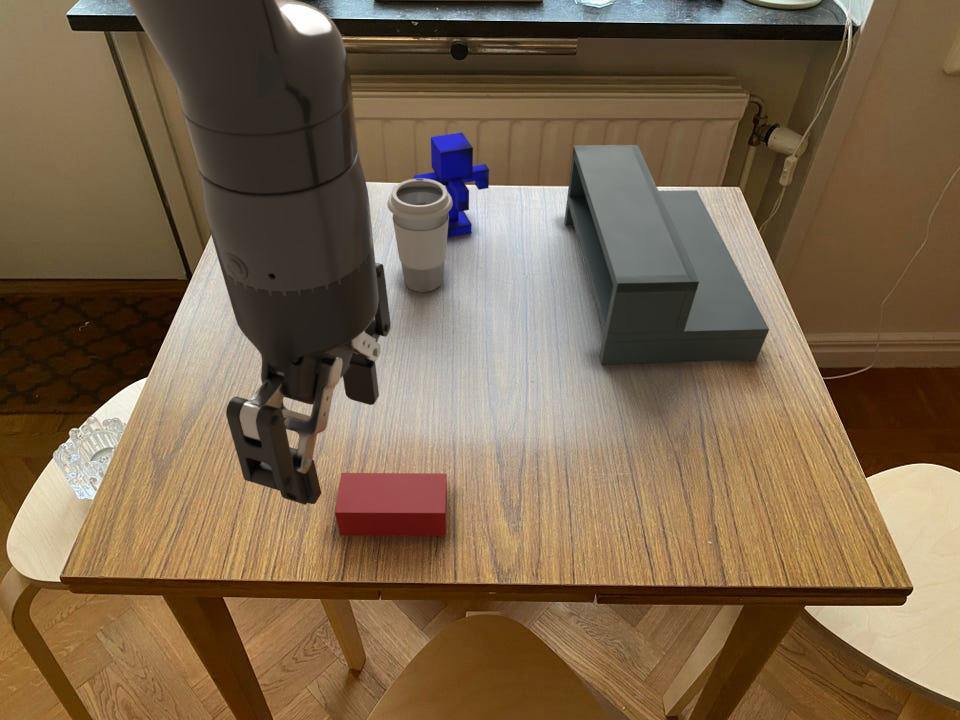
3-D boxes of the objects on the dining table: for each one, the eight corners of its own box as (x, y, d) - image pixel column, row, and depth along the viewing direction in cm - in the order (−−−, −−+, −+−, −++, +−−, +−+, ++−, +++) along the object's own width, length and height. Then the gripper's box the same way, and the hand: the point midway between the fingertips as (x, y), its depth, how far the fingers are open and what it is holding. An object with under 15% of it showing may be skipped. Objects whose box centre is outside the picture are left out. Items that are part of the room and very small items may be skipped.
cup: (452, 262, 87) (451, 175, 79) (454, 297, 83) (453, 208, 74) (394, 263, 87) (387, 176, 78) (392, 298, 82) (385, 209, 74)
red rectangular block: (447, 496, 63) (446, 473, 60) (446, 536, 60) (445, 513, 58) (345, 496, 63) (341, 472, 60) (339, 535, 60) (334, 512, 57)
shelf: (756, 360, 76) (790, 279, 68) (601, 364, 75) (617, 283, 67) (689, 219, 95) (709, 143, 88) (564, 221, 94) (573, 145, 87)
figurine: (412, 234, 91) (408, 148, 83) (440, 205, 96) (438, 122, 88) (465, 250, 89) (466, 163, 81) (490, 220, 94) (493, 135, 86)
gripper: (292, 351, 29) (338, 554, 41) (420, 181, 39) (428, 383, 50) (137, 310, 31) (224, 517, 42) (297, 156, 40) (332, 358, 52)
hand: (335, 444), depth 46 cm, fingers open, 8 cm apart
